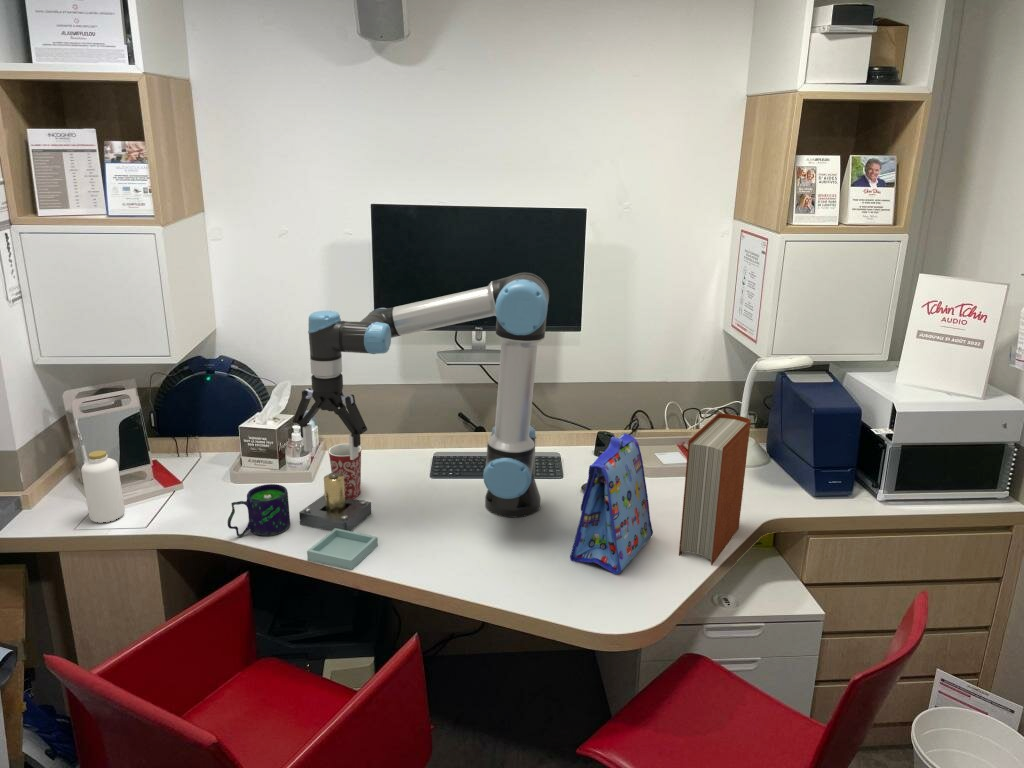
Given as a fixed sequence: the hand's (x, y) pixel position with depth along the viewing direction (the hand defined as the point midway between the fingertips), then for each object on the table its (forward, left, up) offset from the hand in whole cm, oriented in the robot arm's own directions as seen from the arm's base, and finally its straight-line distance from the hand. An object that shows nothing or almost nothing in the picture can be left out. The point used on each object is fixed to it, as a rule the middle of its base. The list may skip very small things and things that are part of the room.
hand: (331, 453), depth 196 cm
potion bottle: (+56, +21, -19) cm, 62 cm away
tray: (-11, +14, -19) cm, 26 cm away
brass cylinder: (0, 0, -19) cm, 19 cm away
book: (-93, -25, -19) cm, 98 cm away
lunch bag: (-71, -12, -19) cm, 75 cm away
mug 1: (+15, +12, -19) cm, 27 cm away
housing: (0, 0, -19) cm, 19 cm away
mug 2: (+6, -16, -19) cm, 25 cm away
